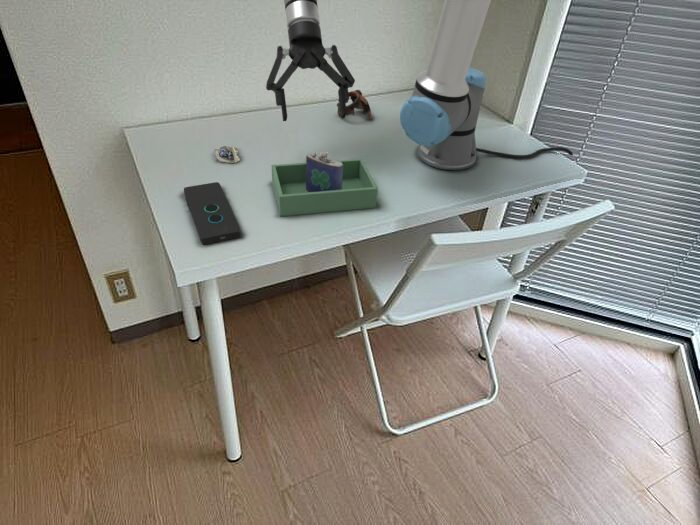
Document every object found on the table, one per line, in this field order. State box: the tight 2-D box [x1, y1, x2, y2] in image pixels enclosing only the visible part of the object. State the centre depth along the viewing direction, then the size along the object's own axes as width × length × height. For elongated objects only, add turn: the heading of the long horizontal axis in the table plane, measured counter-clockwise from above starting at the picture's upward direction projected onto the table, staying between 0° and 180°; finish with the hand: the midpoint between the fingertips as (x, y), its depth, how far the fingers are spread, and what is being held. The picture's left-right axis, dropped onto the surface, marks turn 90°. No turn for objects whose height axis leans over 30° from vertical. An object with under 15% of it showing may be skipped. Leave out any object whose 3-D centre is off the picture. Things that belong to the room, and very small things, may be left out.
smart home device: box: [183, 181, 242, 246], centre depth 109 cm, size 8×2×20 cm
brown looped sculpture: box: [336, 89, 372, 121], centre depth 151 cm, size 12×10×8 cm
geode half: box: [213, 145, 241, 164], centre depth 129 cm, size 7×8×2 cm
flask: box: [305, 151, 343, 192], centre depth 114 cm, size 9×3×11 cm, turn 61°
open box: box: [271, 158, 379, 217], centre depth 116 cm, size 22×14×5 cm, turn 104°
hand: (315, 117), depth 116 cm, fingers open, 13 cm apart
